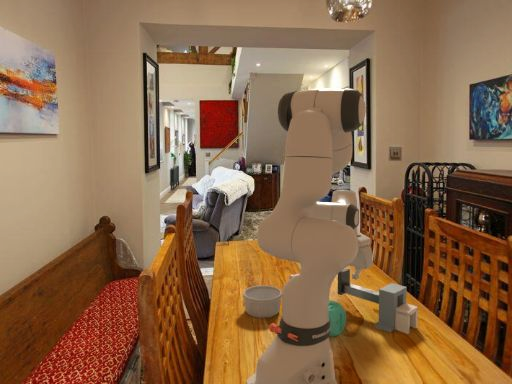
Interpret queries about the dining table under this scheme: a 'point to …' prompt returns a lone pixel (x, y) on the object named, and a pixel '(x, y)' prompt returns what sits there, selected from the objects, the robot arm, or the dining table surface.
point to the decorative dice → (336, 318)
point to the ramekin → (262, 301)
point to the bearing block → (390, 305)
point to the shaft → (355, 288)
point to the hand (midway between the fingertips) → (343, 275)
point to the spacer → (406, 317)
